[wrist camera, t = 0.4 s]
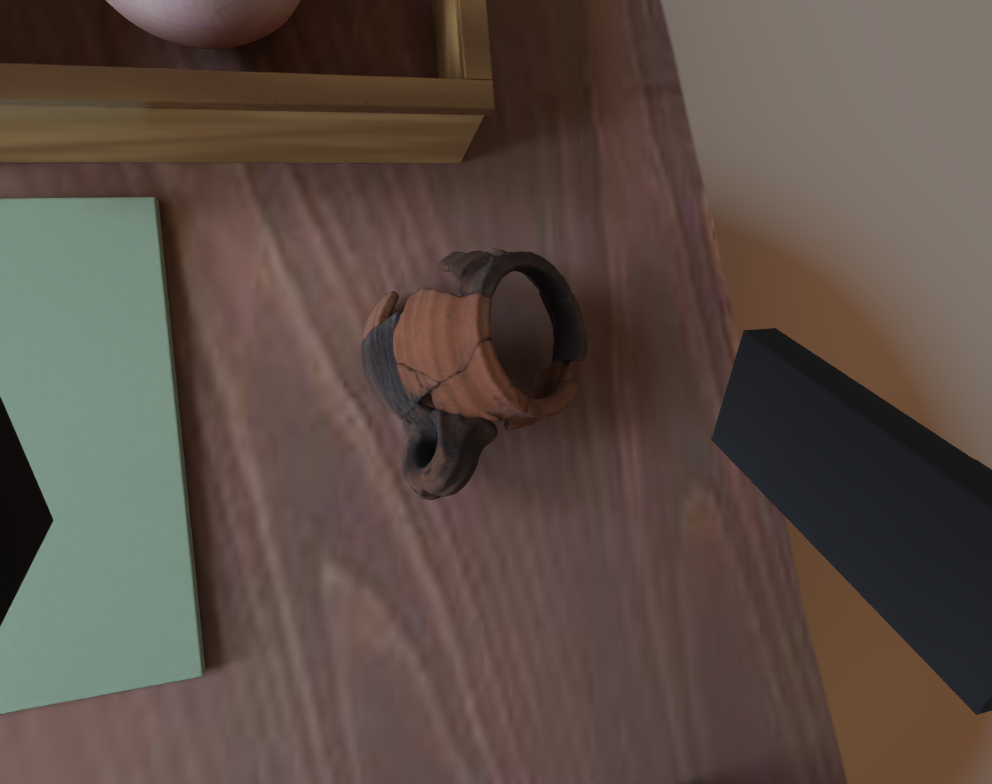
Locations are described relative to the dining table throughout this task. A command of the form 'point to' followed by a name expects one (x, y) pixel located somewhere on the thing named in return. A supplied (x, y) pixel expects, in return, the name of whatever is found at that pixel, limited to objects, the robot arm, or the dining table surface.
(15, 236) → the placemat
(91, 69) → the wooden box
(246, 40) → the decorative fruit
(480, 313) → the pottery mug
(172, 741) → the dining table surface
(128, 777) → the dining table surface
